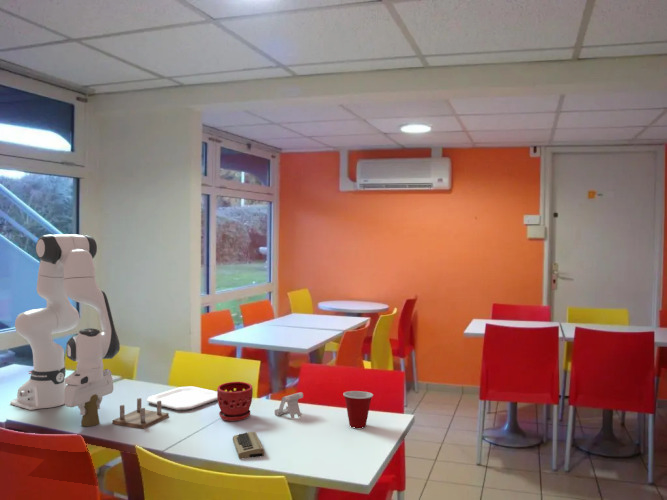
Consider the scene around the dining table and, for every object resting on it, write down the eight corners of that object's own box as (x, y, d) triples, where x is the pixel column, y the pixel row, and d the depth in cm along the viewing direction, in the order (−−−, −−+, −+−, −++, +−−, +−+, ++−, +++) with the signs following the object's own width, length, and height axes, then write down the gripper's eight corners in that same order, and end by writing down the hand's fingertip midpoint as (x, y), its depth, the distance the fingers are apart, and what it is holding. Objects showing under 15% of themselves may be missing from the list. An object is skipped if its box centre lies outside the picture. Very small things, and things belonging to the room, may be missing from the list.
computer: (232, 442, 188) (232, 432, 187) (256, 439, 190) (256, 430, 190) (238, 460, 172) (238, 449, 172) (264, 457, 175) (264, 447, 175)
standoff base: (112, 423, 204) (112, 406, 203) (138, 412, 217) (138, 396, 217) (143, 428, 199) (143, 411, 199) (168, 416, 212) (168, 400, 212)
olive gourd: (92, 427, 200) (92, 396, 199) (77, 425, 201) (77, 395, 201) (102, 421, 206) (102, 391, 205) (88, 420, 207) (88, 390, 207)
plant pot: (210, 417, 211) (210, 386, 210) (238, 409, 220) (238, 379, 220) (231, 426, 202) (231, 393, 201) (259, 417, 211) (259, 385, 211)
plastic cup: (376, 422, 206) (376, 390, 205) (368, 432, 195) (368, 398, 195) (348, 419, 209) (348, 387, 209) (338, 429, 199) (339, 395, 199)
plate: (228, 398, 236) (228, 393, 235) (183, 415, 215) (183, 409, 215) (186, 389, 249) (186, 384, 249) (140, 404, 228) (140, 398, 228)
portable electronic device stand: (291, 410, 220) (291, 389, 219) (305, 415, 214) (305, 393, 214) (274, 415, 214) (274, 393, 213) (287, 420, 208) (287, 398, 208)
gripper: (104, 366, 214) (104, 402, 214) (60, 380, 194) (61, 419, 195) (117, 368, 211) (117, 404, 212) (74, 382, 192) (75, 422, 193)
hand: (90, 412), depth 203 cm, fingers closed on olive gourd, 5 cm apart
